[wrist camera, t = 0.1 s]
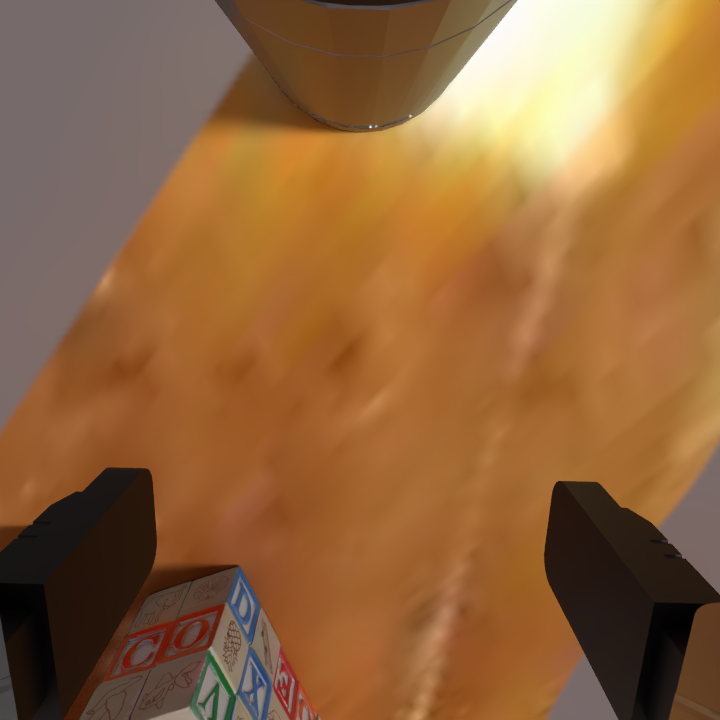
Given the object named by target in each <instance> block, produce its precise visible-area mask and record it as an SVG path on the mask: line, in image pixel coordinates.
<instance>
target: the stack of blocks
mask: <svg viewBox="0 0 720 720" xmlns="http://www.w3.org/2000/svg"><path fill="white" fill-rule="evenodd" d="M79 720H321V718H320V716H319V715H317V714H316V713H315V710H314V708H313V707H312V705H311V703H310V701H309V699H308V697H307V695H306V693H305V691H304V689H303V687H302V685H301V683H300V682H299V681H297V678H296V676H295V674H294V672H293V670H292V668H291V666H290V664H289V662H288V660H287V659H286V656H285V654H284V653H283V651H282V649H281V647H280V642H279V640H278V638H277V636H276V634H275V632H274V630H273V628H272V626H271V624H270V622H269V620H268V619H267V617H266V615H265V613H264V611H263V609H262V608H261V606H260V605H259V602H258V600H257V598H256V596H255V594H254V592H253V590H252V588H251V587H250V585H249V583H248V581H247V579H246V577H245V575H244V573H243V571H242V570H241V568H240V567H239V566H238V567H235V568H232V569H228V570H225V571H222V572H219V573H216V574H213V575H210V576H207V577H204V578H201V579H197V580H195V581H190V582H186V583H183V584H180V585H177V586H174V587H171V588H169V589H165V590H162V591H160V592H157V593H154V594H152V595H150V596H148V597H147V598H146V600H145V602H144V603H143V605H142V607H141V609H140V611H139V613H138V615H137V617H136V619H135V621H134V623H133V625H132V626H131V629H130V631H129V633H128V635H127V636H125V638H124V640H123V642H122V644H121V646H120V647H119V649H118V651H117V653H116V655H115V657H114V659H113V661H112V663H111V665H110V666H109V668H108V670H107V672H106V675H105V677H104V679H103V681H102V683H101V684H100V685H99V686H98V687H97V688H96V689H95V691H94V693H93V695H92V697H91V699H90V700H89V702H88V704H87V706H86V708H85V710H84V712H83V713H82V715H81V717H80V719H79Z"/></svg>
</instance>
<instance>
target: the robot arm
mask: <svg viewBox="0 0 720 720" xmlns="http://www.w3.org/2000/svg"><path fill="white" fill-rule="evenodd" d="M215 1H216V2H217V4H218V5H219V6H220V8H221V9H222V10H223V12H224V13H225V14H226V16H227V17H228V18H229V20H230V21H231V22H232V24H233V25H234V26H235V28H236V29H237V30H238V32H239V33H240V34H241V36H242V37H243V38H244V40H245V41H246V42H247V44H248V45H249V46H250V48H251V49H252V50H253V52H254V53H255V54H256V56H257V57H258V58H259V60H260V61H261V62H262V64H263V65H264V67H265V68H266V69H267V71H268V72H269V74H270V75H271V76H272V78H273V79H274V80H275V82H276V83H277V84H278V85H279V87H280V88H281V89H282V91H283V92H284V93H285V94H286V95H287V96H288V97H289V98H290V99H291V100H292V101H293V102H294V103H295V104H296V105H297V106H298V108H299V109H301V110H302V111H304V112H305V113H307V114H308V115H310V116H311V117H313V118H314V119H316V120H317V121H319V122H321V123H324V124H327V125H329V126H332V127H334V128H337V129H340V130H347V131H354V132H372V131H382V130H385V129H389V128H392V127H395V126H398V125H401V124H403V123H405V122H407V121H409V120H410V119H412V118H414V117H415V116H417V115H419V114H421V113H422V112H423V111H424V110H425V109H427V108H428V107H429V106H430V105H431V104H432V103H433V102H434V101H435V100H436V99H438V98H439V96H440V95H441V94H442V93H443V91H444V90H445V89H446V88H447V86H448V85H449V84H450V83H451V82H452V81H453V80H454V78H455V77H456V76H457V75H458V73H459V72H460V71H461V70H462V69H463V67H464V66H465V65H466V64H467V62H468V61H469V60H470V59H471V57H472V56H473V55H474V54H475V52H476V51H477V50H478V49H479V47H480V46H481V45H482V44H483V42H484V41H485V40H486V39H487V38H488V36H489V35H490V34H491V33H492V31H493V30H494V29H495V28H496V26H497V25H498V24H499V23H500V21H501V20H502V19H503V18H504V16H505V15H506V14H507V13H508V11H509V10H510V9H511V8H512V6H513V5H514V4H515V3H516V1H517V0H215ZM156 547H157V535H156V521H155V508H154V494H153V481H152V476H151V473H150V471H149V470H148V469H146V468H112V467H110V468H106V469H105V470H104V471H103V472H102V473H101V474H100V475H99V476H98V477H97V478H96V479H95V480H94V481H93V482H92V483H91V484H90V485H89V486H88V487H87V488H86V489H85V490H84V491H83V492H75V493H73V494H71V495H69V496H67V497H65V498H63V499H62V500H60V501H58V502H56V503H54V504H52V505H50V506H49V507H48V508H47V509H46V510H45V511H44V512H43V513H42V514H41V515H40V516H39V517H38V518H37V519H35V520H34V521H33V525H29V526H28V527H27V528H26V529H25V530H24V531H23V532H22V533H20V534H19V535H18V539H14V540H13V541H12V542H11V543H10V544H9V545H8V546H7V547H5V548H4V549H3V550H2V551H1V552H0V720H63V719H64V717H65V716H66V714H67V712H68V711H69V709H70V707H71V706H72V704H73V702H74V700H75V699H76V697H77V695H78V694H79V692H80V690H81V689H82V687H83V685H84V684H85V682H86V680H87V678H88V677H89V675H90V673H91V672H92V670H93V668H94V667H95V665H96V663H97V662H98V660H99V658H100V656H101V655H102V653H103V651H104V650H105V648H106V646H107V645H108V643H109V641H110V639H111V638H112V636H113V634H114V633H115V631H116V629H117V628H118V626H119V624H120V623H121V621H122V619H123V617H124V616H125V614H126V612H127V611H128V609H129V607H130V606H131V604H132V602H133V601H134V599H135V597H136V595H137V594H138V592H139V590H140V589H141V587H142V585H143V584H144V582H145V580H146V578H147V577H148V575H149V573H150V571H151V569H152V566H153V563H154V560H155V555H156ZM544 562H545V571H546V576H547V579H548V582H549V585H550V587H551V589H552V591H553V593H554V595H555V597H556V598H557V600H558V602H559V604H560V606H561V608H562V610H563V612H564V614H565V616H566V618H567V620H568V622H569V624H570V626H571V628H572V630H573V632H574V634H575V636H576V637H577V639H578V641H579V643H580V645H581V647H582V649H583V651H584V653H585V655H586V657H587V659H588V661H589V663H590V665H591V667H592V669H593V671H594V673H595V674H596V677H597V678H598V680H599V682H600V684H601V686H602V688H603V690H604V692H605V694H606V696H607V698H608V700H609V702H610V704H611V706H612V708H613V710H614V712H615V714H616V716H617V717H618V719H619V720H720V595H719V594H718V593H717V591H715V589H714V588H713V587H712V586H711V585H710V584H709V583H708V582H707V581H706V580H705V579H704V578H703V577H702V576H701V575H700V573H699V572H698V571H697V570H696V569H695V568H694V567H693V566H692V565H691V564H690V563H689V562H688V561H687V560H686V559H682V555H681V553H680V552H679V551H678V550H677V549H676V548H675V547H674V546H673V545H672V544H668V540H667V539H666V538H665V537H664V536H663V534H662V533H661V532H660V531H659V530H658V529H657V528H656V527H655V526H654V525H653V524H652V523H651V522H649V521H648V520H646V519H644V518H643V517H641V516H639V515H638V514H636V513H634V512H633V511H631V510H629V509H628V508H621V507H620V506H619V505H618V504H617V503H616V501H615V500H614V499H613V498H612V497H611V496H610V495H609V494H608V492H607V491H606V490H605V489H604V488H603V487H602V486H601V485H600V484H599V483H597V482H576V481H558V482H557V483H556V484H555V486H554V488H553V492H552V498H551V506H550V513H549V521H548V528H547V536H546V543H545V552H544Z"/></svg>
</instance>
